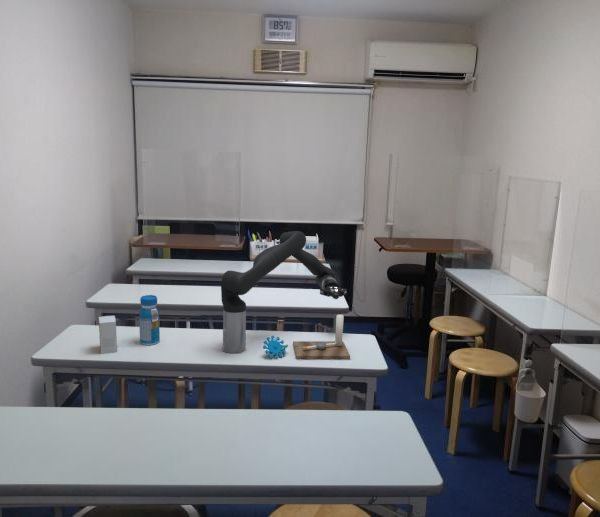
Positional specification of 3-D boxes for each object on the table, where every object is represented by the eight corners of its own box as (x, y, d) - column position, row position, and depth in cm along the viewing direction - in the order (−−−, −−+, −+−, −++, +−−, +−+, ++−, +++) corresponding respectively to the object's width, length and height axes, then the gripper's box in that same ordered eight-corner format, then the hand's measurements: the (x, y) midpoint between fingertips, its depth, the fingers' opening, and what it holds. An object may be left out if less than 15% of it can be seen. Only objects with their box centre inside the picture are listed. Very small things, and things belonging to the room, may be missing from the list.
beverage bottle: (138, 346, 212) (137, 300, 208) (140, 339, 220) (138, 294, 216) (159, 345, 214) (158, 299, 210) (160, 338, 222) (159, 293, 218)
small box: (99, 346, 210) (98, 316, 208) (116, 344, 213) (114, 315, 210) (100, 353, 203) (99, 322, 201) (117, 352, 206) (116, 321, 203)
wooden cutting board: (296, 359, 205) (296, 355, 205) (292, 344, 220) (293, 341, 220) (350, 359, 207) (350, 355, 207) (343, 344, 223) (343, 341, 222)
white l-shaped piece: (305, 352, 208) (306, 321, 205) (300, 348, 212) (301, 318, 209) (344, 346, 216) (345, 316, 213) (338, 342, 220) (340, 313, 217)
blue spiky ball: (265, 357, 202) (262, 334, 207) (260, 363, 206) (257, 340, 211) (291, 357, 206) (287, 334, 212) (285, 363, 211) (281, 341, 216)
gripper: (316, 278, 240) (321, 288, 223) (344, 278, 242) (351, 288, 225) (316, 294, 242) (321, 305, 225) (343, 294, 243) (350, 305, 226)
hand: (336, 297), depth 225 cm, fingers closed
